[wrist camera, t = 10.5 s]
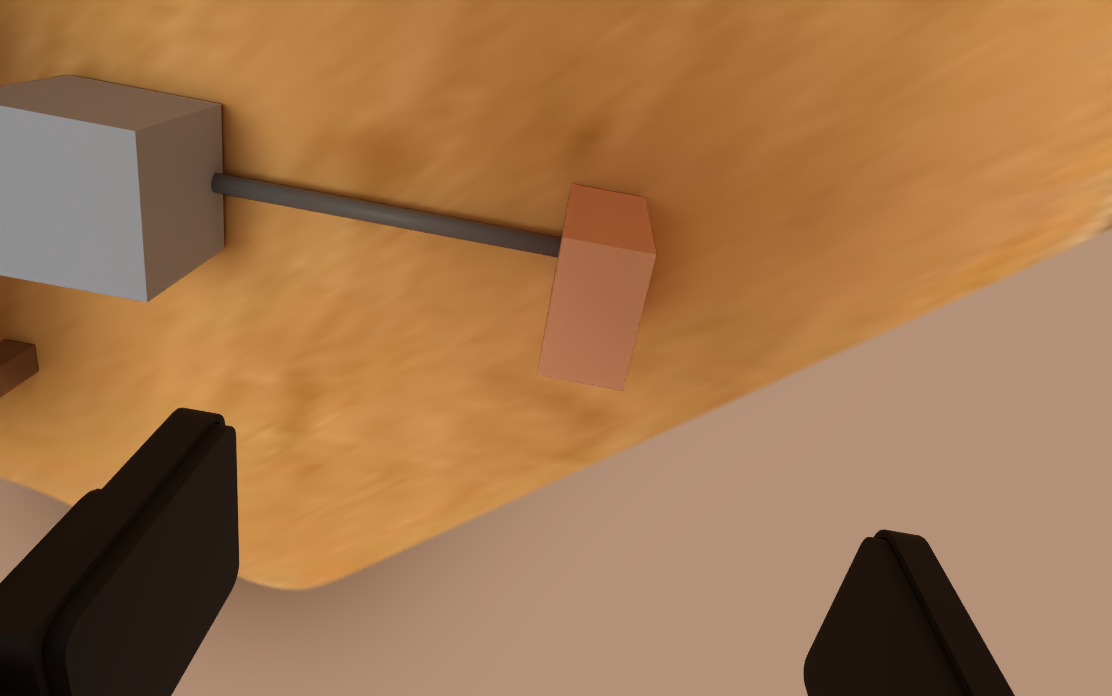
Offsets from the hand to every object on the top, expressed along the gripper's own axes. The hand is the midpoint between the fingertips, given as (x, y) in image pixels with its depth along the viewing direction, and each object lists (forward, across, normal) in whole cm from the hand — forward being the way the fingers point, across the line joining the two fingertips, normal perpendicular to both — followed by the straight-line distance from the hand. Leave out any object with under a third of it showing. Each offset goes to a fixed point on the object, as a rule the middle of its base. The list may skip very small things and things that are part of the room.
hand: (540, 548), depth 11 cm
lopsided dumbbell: (+21, +9, +3) cm, 23 cm away
